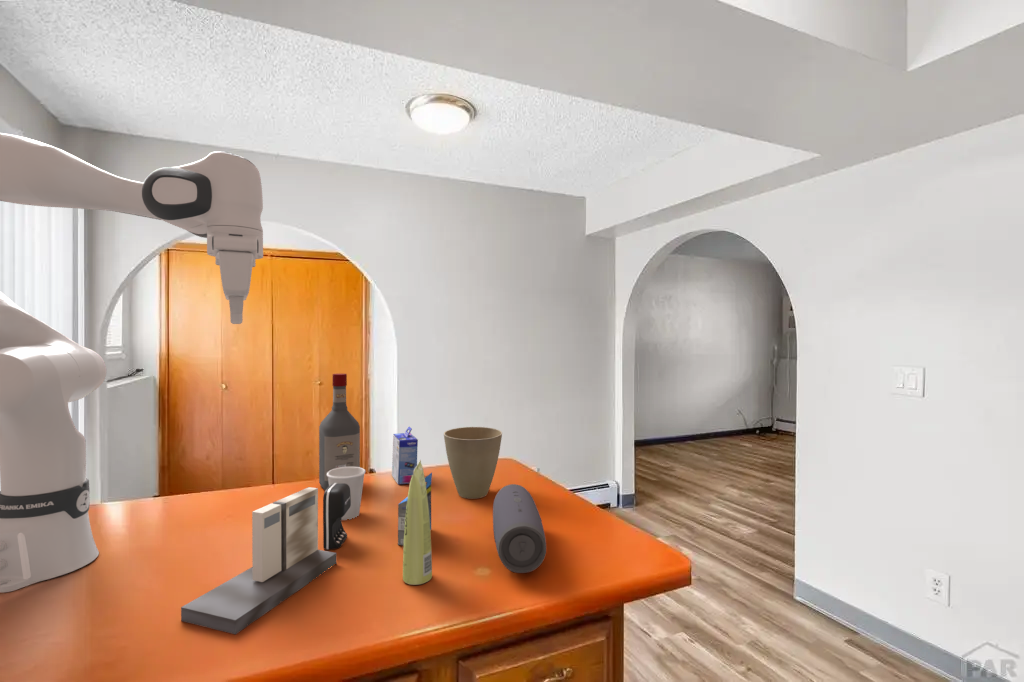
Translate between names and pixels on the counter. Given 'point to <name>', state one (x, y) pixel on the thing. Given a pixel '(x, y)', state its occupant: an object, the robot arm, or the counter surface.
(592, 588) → the counter surface
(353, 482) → the dixie cup
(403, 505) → the label tape cartridge
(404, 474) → the ink cartridge box
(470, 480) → the plant pot
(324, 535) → the battery charger
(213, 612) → the ticket holder
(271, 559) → the white tall block
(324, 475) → the liquor
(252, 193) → the robot arm
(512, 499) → the bluetooth speaker
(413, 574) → the tube
